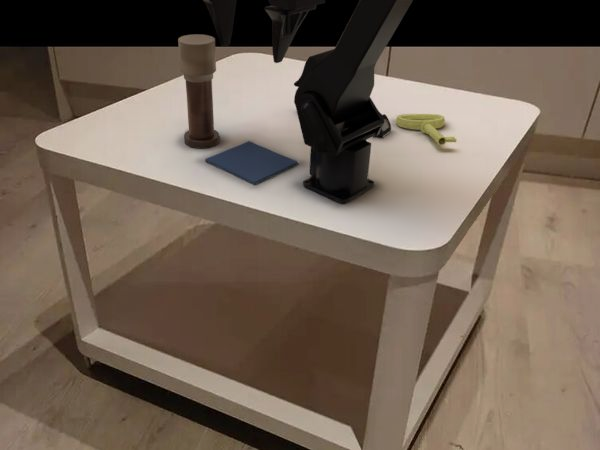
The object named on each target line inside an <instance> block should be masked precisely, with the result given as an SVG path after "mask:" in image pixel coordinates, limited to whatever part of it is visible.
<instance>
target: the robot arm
mask: <svg viewBox="0 0 600 450" xmlns="http://www.w3.org/2000/svg"><path fill="white" fill-rule="evenodd" d="M202 1H203V2H204V4H205V6H206V8H207V10H208V12H209V15H210V18H211V20H212V23H213V26H214V28H215V32H216V34H217V37H218V40H219V43H220V45H221V46H222V47H228V46H230V44H231V40H232V35H233V31H234V29H233V28H234V22H235V15H236V7H237V0H202ZM267 1H268V3H269V6H264V10H265V12H266V13H267V14H268V16H269V18H270V19H271V40H272V41H271V42H272V43H271V46H272V48H271V49H272V58H273V63H274V64H279V63H282V61H283V60H284V58H285V55H286V54H287V52H288V50H289V48H290V47H291V46H290V45H291V44H292V42H293V40H294V37H295V36H296V34H297V32H298V30H299V28H300V26H301V25H302V23H303V22H304V19H305V18H306V16H307V15H308V13H309V12H310V11H312V10H316V8H317V6H319V5H322V4H325V3H326V0H267ZM413 1H414V0H359V1H358V3H357V5H356V7H355V8H354V10H353V12H352V14H351V17H350V18H349V20H348V22H347V23H346V26H345V28H344V30H343V31H342V34H341V36H340V37H339V39H338V42H337V43H336V45H335V47H334V48H332V49H329V50H326V51H323V52H320V53H316V54H312V55H310V56H308V58H307V60H306V61H305V63H304V65H303V69H302V73H301V75H300V76H299V78H298V79H297V80H296V81H295V82H294V83H293V85H294V87H297V88H296V91H295V93H294V98H293V104H294V105H296V106H295V109H296V114H297V118H298V122H299V126H300V127H299V128H300V131H301V135H302V139H303V144H304V145H306V146H309V147H310V151H309V152H310V154H309V155H310V156H309V173H308V174H309V176H310V177H308V178H307V179H305V180H303V181H302V186H303V187H305V188H307V189H309V190H311V191H315V192H316V193H318V194H321V195H323V196H325V197H327V198H329V199H332V200H334V201H336V202H338V203H341V204H346V203H348V202H349V201H351V200H352V199H354V198H356V197H358V196H359V195H361V194H363V193H365V192H367V191H368V190H370V189H371V188H373V187H375V180H372V179H369V171H370V170H369V169H370V162H371V161H370V160H371V150H372V142H370V141H368V140H369V139H371V138H373V137H378V136H377V135H379V133H380V131H381V129H382V127H383V125H384V119H383V118H382V116H381V114H382V113H381V112H380V110H379V109H378V108H377V106H376V105H375V103H374V101H373V99H372V98H371V95H372V93H373V90H374V87H375V67H376V64H377V63H378V61H379V59H380V57H381V56H382V54H383V52H384V50H385V48H386V47H387V46H388V44H389V42H390V40H391V39H392V37H393V36H394V33H395V32H396V30H397V28H398V27H399V25H400V24H401V22H402V20H403V18H404V16H405V15H406V13H407V11H408V10H409V8H410V6H411V4H412V3H413ZM379 112H380V113H381V114H380V113H379ZM344 121H345V122H344Z"/></svg>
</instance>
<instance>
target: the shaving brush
mask: <svg viewBox="0 0 600 450" xmlns="http://www.w3.org/2000/svg"><path fill="white" fill-rule="evenodd" d="M177 43H178V57H179V70H180V73H182V74H183V79H184V80H185V93H186V107H187V108H186V109H187V124H188V125H187V126H188V130H187V131H185V132H184V133H183V141H184V144H185V145H186V146H188V147H189V148H194V149H208V148H213V147H215V146H217V145H218V144H219V143H220V133H219V131H217V130H216V129H215V122H214V120H215V118H214V100H213V99H214V97H213V96H214V94H213V79H214V73H216V72H217V57H216V55H217V54H216V38H215V37H214V36H211V35H208V34H201V33H200V34H199V33H198V34H197V33H196V34H195V33H194V34H187V35H186V34H185V35H181V36H180V37H178V39H177Z"/></svg>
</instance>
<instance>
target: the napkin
mask: <svg viewBox="0 0 600 450" xmlns="http://www.w3.org/2000/svg"><path fill="white" fill-rule="evenodd" d="M204 161H205V162H206V163H207V164H210V165H212V166H214V167H216V168H218V169H220V170H222V171H224V172H227V173H228V174H231V175H233V176H235V177H237V178H239V179H241V180H244V181H245V182H248V183H250V184H252V185H254V186H255V185H257V184H260V183H262V182H265V181H266V180H268V179H270V178H272V177H275V176H276V175H278V174H280V173H283V172H285V171H287V170H289V169H291V168H294V167H295V166H297V165H298V164H299V161H298V160H295V159H293V158H290V157H288V156H285V155H283V154H281V153H278V152H276V151H274V150H271V149H269V148H267V147H265V146H262V145H260V144H258V143H255V142H252V141H251V140H248V141H246V142H243V143H241V144H238V145H235V146H233V147H231V148H228V149H226V150H224V151H220V152H218V153H216V154H214V155H211V156H209V157H207V158H205V159H204Z"/></svg>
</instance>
